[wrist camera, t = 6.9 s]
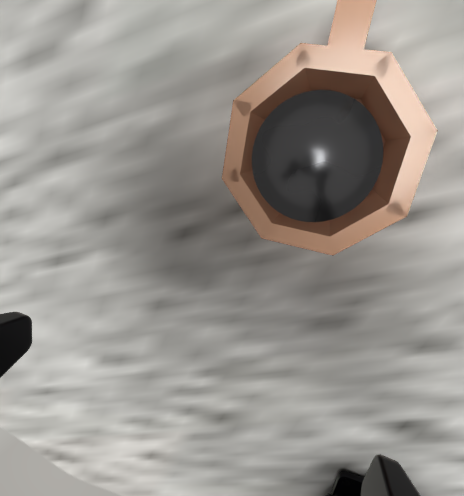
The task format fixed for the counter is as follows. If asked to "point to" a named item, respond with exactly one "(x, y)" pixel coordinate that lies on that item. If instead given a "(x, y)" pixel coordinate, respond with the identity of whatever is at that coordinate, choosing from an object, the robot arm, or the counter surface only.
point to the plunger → (317, 156)
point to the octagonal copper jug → (364, 91)
